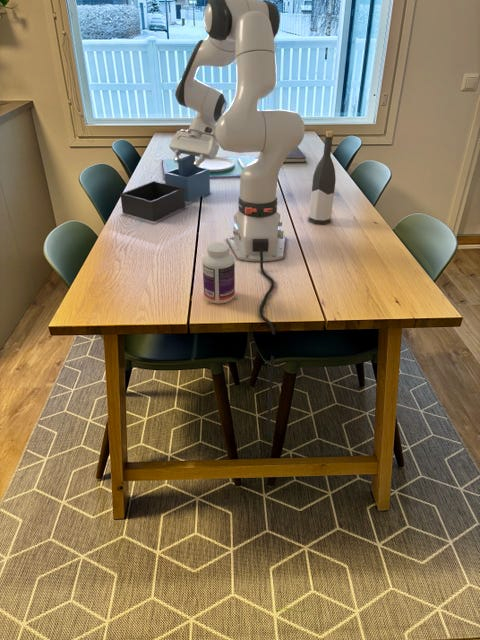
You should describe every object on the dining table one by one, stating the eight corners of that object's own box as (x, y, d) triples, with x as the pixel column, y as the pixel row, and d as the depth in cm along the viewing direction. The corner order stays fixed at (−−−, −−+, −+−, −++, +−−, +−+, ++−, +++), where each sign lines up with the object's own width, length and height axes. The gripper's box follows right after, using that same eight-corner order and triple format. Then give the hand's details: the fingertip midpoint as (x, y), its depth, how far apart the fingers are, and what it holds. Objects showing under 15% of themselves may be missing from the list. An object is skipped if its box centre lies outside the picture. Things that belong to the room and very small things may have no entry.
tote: (155, 200, 181) (153, 180, 177) (185, 208, 175) (184, 187, 170) (123, 215, 169) (120, 193, 164) (154, 223, 162) (151, 202, 158)
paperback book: (296, 150, 245) (297, 145, 244) (306, 162, 226) (306, 157, 225) (266, 150, 244) (266, 145, 243) (273, 163, 225) (273, 158, 224)
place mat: (164, 180, 202) (164, 174, 201) (162, 160, 227) (162, 155, 226) (266, 176, 208) (267, 171, 207) (254, 157, 233) (254, 152, 232)
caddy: (188, 188, 193) (186, 151, 185) (210, 193, 188) (209, 155, 180) (166, 198, 183) (163, 159, 175) (188, 204, 179) (186, 164, 170)
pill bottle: (235, 290, 126) (236, 240, 118) (233, 306, 119) (233, 254, 111) (205, 288, 126) (204, 239, 118) (201, 304, 120) (199, 253, 111)
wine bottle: (334, 218, 168) (346, 130, 151) (325, 226, 162) (337, 135, 146) (313, 214, 172) (322, 127, 155) (304, 221, 166) (312, 132, 149)
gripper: (174, 123, 181) (160, 155, 180) (218, 130, 172) (203, 163, 171) (182, 133, 187) (168, 164, 186) (225, 140, 178) (210, 173, 177)
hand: (185, 164), depth 178 cm, fingers open, 8 cm apart
